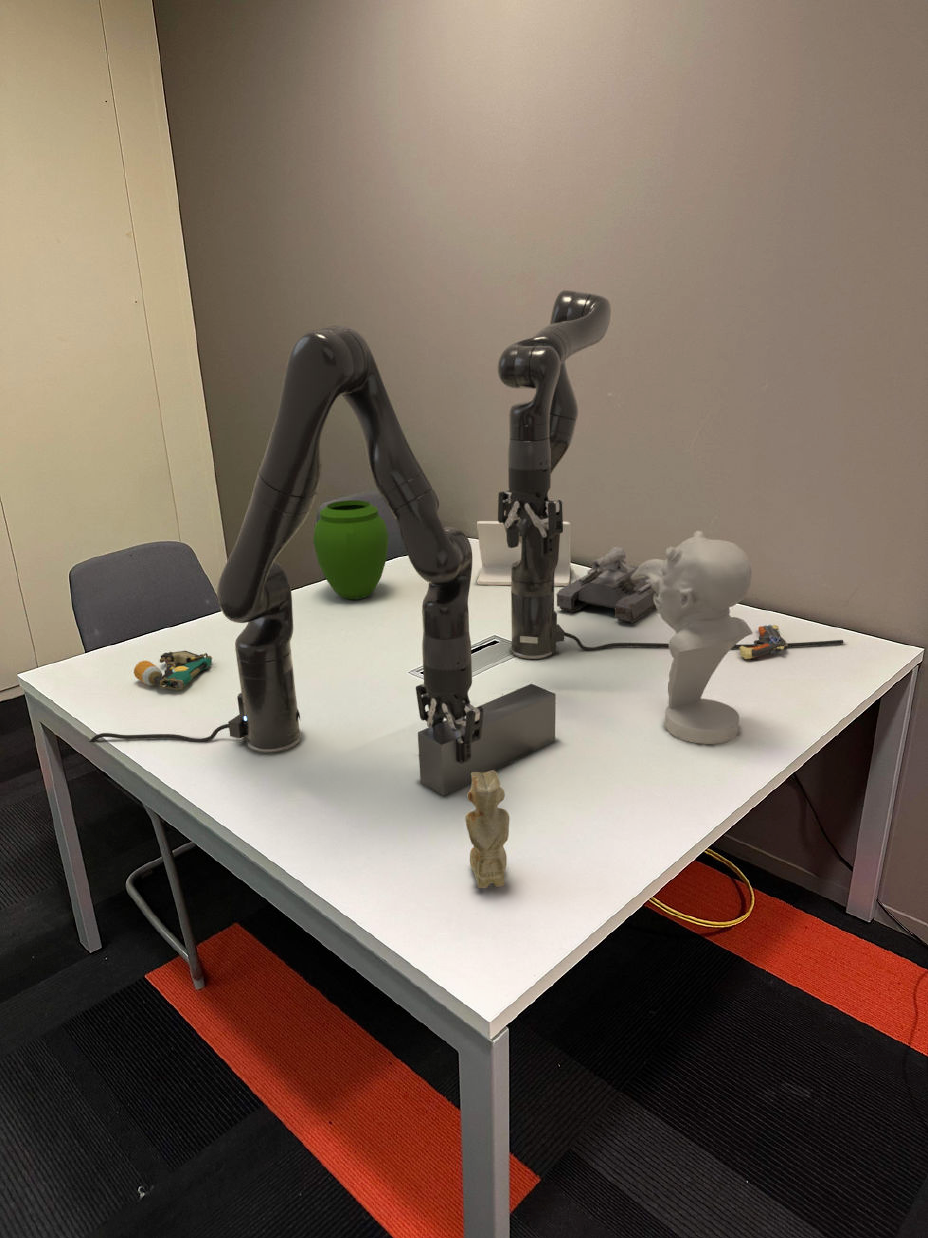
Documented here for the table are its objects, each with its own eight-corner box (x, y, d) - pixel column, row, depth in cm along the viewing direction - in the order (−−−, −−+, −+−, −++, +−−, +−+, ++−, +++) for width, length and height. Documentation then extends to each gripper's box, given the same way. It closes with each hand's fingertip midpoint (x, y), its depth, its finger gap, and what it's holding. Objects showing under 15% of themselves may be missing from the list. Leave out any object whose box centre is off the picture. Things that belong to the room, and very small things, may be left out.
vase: (406, 590, 229) (401, 501, 221) (360, 612, 214) (353, 517, 206) (350, 579, 239) (343, 494, 231) (303, 600, 224) (293, 509, 216)
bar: (531, 729, 154) (531, 683, 151) (555, 740, 150) (555, 693, 147) (420, 782, 138) (417, 732, 135) (443, 796, 134) (441, 745, 131)
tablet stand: (569, 585, 229) (570, 524, 223) (476, 584, 232) (475, 523, 226) (570, 566, 246) (571, 508, 240) (484, 564, 249) (483, 507, 243)
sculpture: (507, 859, 119) (506, 764, 113) (512, 893, 112) (511, 794, 107) (465, 861, 118) (462, 767, 113) (468, 895, 112) (465, 796, 106)
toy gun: (742, 650, 179) (792, 647, 177) (732, 623, 197) (777, 620, 194) (742, 662, 179) (792, 659, 177) (732, 635, 197) (778, 632, 195)
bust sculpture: (671, 682, 170) (682, 511, 158) (763, 732, 151) (784, 540, 138) (606, 701, 164) (613, 523, 151) (694, 755, 144) (709, 555, 131)
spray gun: (177, 659, 191) (231, 671, 185) (120, 684, 176) (176, 698, 171) (176, 641, 190) (230, 653, 184) (118, 665, 175) (174, 678, 169)
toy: (603, 584, 229) (605, 530, 224) (673, 597, 218) (677, 540, 213) (555, 612, 210) (556, 553, 205) (630, 627, 199) (633, 566, 194)
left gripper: (399, 652, 134) (404, 746, 140) (459, 679, 124) (462, 779, 130) (436, 639, 139) (439, 731, 145) (496, 664, 129) (498, 762, 134)
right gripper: (486, 461, 154) (488, 548, 160) (544, 471, 144) (543, 563, 150) (516, 456, 159) (516, 540, 165) (573, 465, 149) (572, 554, 154)
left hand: (450, 753), depth 137 cm, fingers closed on bar, 6 cm apart
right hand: (529, 551), depth 157 cm, fingers open, 8 cm apart
